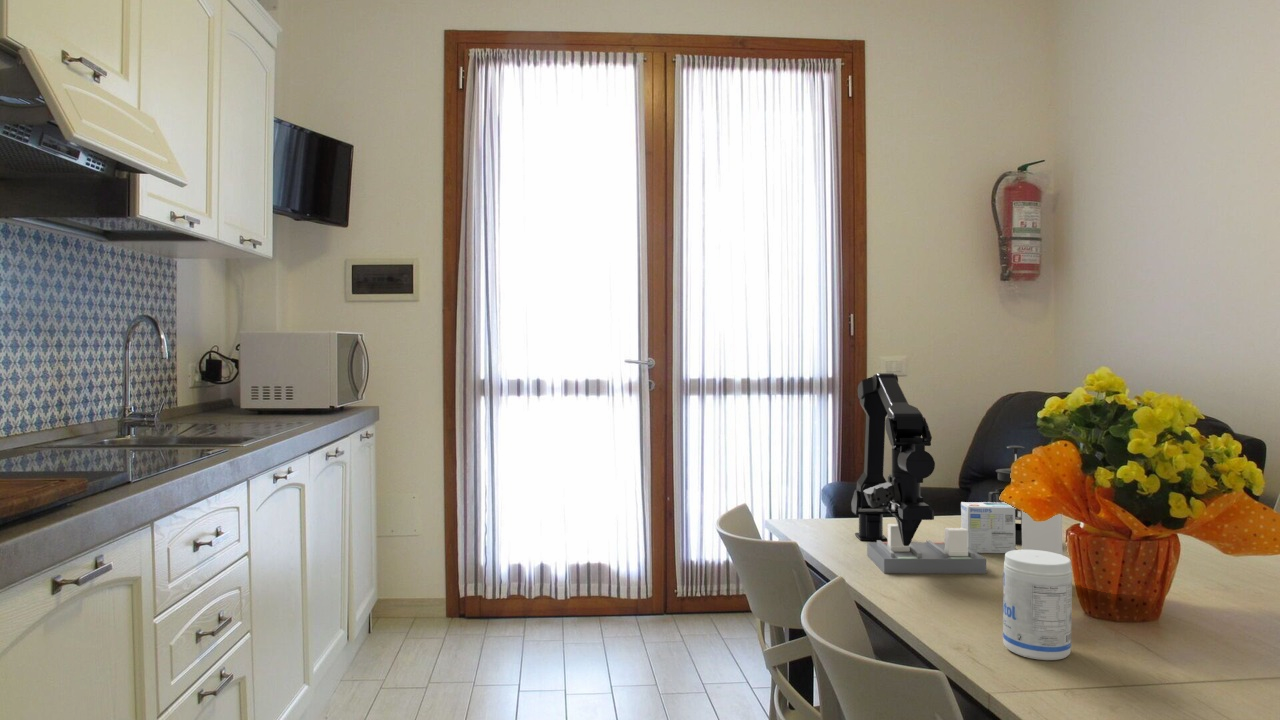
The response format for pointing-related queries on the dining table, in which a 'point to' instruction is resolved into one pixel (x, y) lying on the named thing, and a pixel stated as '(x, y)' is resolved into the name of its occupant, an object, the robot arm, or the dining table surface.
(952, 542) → the tall cream cuboid
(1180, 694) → the dining table surface
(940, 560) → the breaker panel
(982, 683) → the dining table surface
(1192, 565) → the dining table surface
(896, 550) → the white block
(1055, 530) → the off-white cardboard box
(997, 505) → the light bulb box
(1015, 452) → the french press
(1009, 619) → the supplement tub
